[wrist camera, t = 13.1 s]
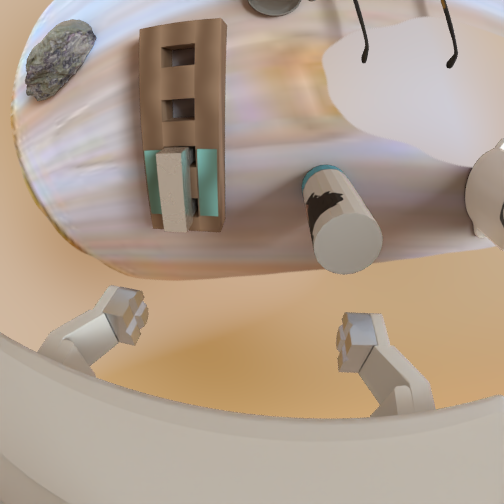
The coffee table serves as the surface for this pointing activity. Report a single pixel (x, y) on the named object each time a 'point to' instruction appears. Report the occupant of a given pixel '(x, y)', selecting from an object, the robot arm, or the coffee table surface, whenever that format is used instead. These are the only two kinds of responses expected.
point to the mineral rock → (57, 58)
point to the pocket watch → (275, 6)
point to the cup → (339, 222)
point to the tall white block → (176, 187)
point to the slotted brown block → (186, 128)
